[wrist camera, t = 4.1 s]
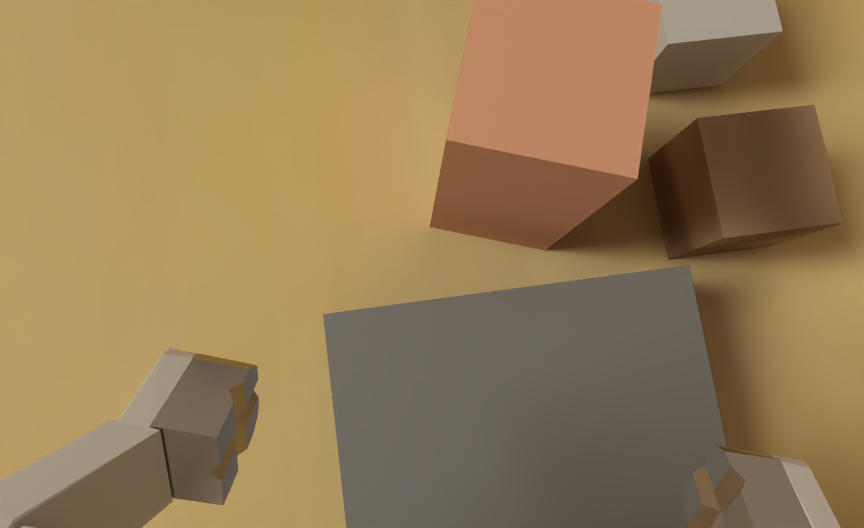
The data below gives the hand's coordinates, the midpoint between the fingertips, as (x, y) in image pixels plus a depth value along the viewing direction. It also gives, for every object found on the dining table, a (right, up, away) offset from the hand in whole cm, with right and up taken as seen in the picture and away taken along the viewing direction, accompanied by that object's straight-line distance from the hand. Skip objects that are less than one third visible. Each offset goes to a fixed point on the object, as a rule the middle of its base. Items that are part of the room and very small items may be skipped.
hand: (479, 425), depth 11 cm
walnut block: (+11, +6, +15) cm, 20 cm away
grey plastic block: (+10, +13, +16) cm, 23 cm away
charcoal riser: (+3, -5, +13) cm, 14 cm away
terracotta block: (+2, +6, +15) cm, 16 cm away
